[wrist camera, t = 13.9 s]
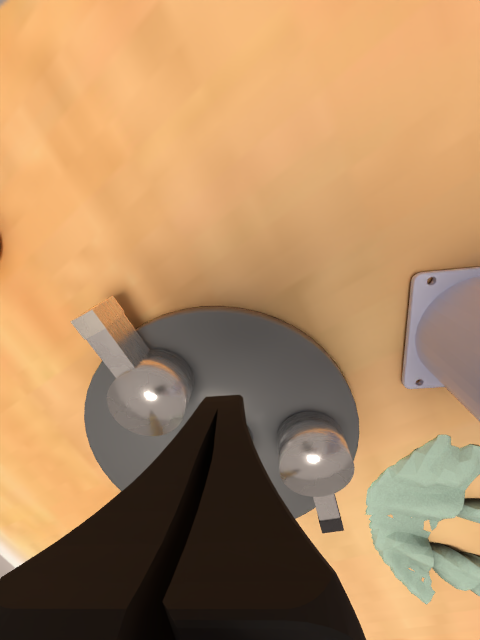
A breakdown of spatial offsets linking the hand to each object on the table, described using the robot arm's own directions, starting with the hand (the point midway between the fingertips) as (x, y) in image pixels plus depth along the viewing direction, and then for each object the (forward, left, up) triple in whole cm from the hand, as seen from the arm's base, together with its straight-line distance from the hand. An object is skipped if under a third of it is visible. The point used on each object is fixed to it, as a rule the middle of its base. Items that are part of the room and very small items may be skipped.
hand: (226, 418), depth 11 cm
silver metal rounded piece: (+6, +2, -9) cm, 11 cm away
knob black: (-4, +11, -8) cm, 14 cm away
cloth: (-17, +22, -11) cm, 30 cm away
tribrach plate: (+3, +9, -10) cm, 14 cm away
